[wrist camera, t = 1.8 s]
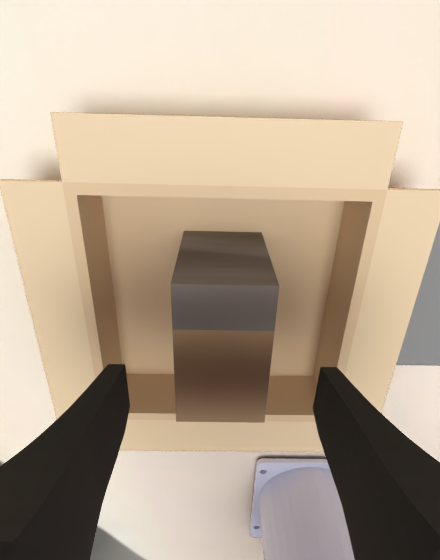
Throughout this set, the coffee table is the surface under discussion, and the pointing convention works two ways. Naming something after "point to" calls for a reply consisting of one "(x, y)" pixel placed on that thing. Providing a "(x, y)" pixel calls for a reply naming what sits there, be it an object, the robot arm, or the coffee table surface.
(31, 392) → the coffee table surface
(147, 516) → the coffee table surface
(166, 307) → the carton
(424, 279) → the slate mat
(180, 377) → the walnut block
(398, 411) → the coffee table surface
